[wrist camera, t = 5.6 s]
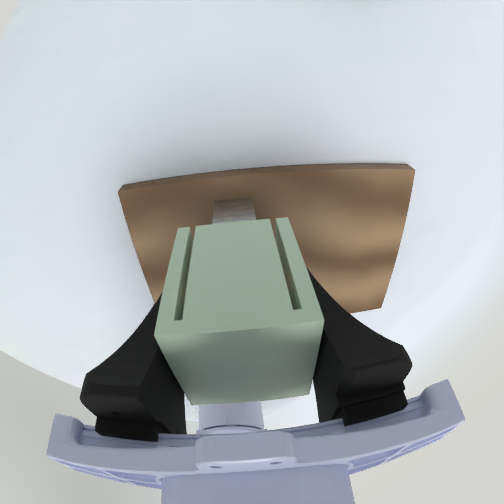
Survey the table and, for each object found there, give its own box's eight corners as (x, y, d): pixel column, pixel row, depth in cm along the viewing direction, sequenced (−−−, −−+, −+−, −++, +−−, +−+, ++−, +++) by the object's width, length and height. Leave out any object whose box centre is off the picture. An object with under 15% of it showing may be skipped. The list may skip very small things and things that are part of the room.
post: (254, 229, 21) (262, 279, 17) (218, 233, 21) (217, 283, 16) (251, 197, 20) (260, 241, 15) (214, 201, 19) (210, 246, 15)
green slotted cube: (286, 296, 17) (308, 394, 12) (197, 305, 17) (191, 404, 12) (287, 217, 14) (324, 320, 9) (178, 228, 14) (154, 335, 9)
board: (376, 300, 29) (381, 307, 28) (168, 323, 28) (167, 332, 27) (407, 164, 20) (415, 169, 19) (122, 185, 19) (117, 191, 18)
